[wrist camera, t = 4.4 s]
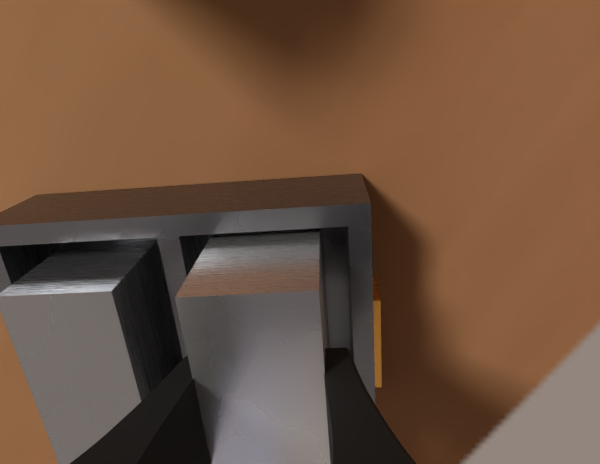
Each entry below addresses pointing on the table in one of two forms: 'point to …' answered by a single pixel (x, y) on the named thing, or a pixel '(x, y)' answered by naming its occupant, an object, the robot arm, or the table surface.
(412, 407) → the table surface
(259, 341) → the grey block
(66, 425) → the rack
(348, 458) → the robot arm
